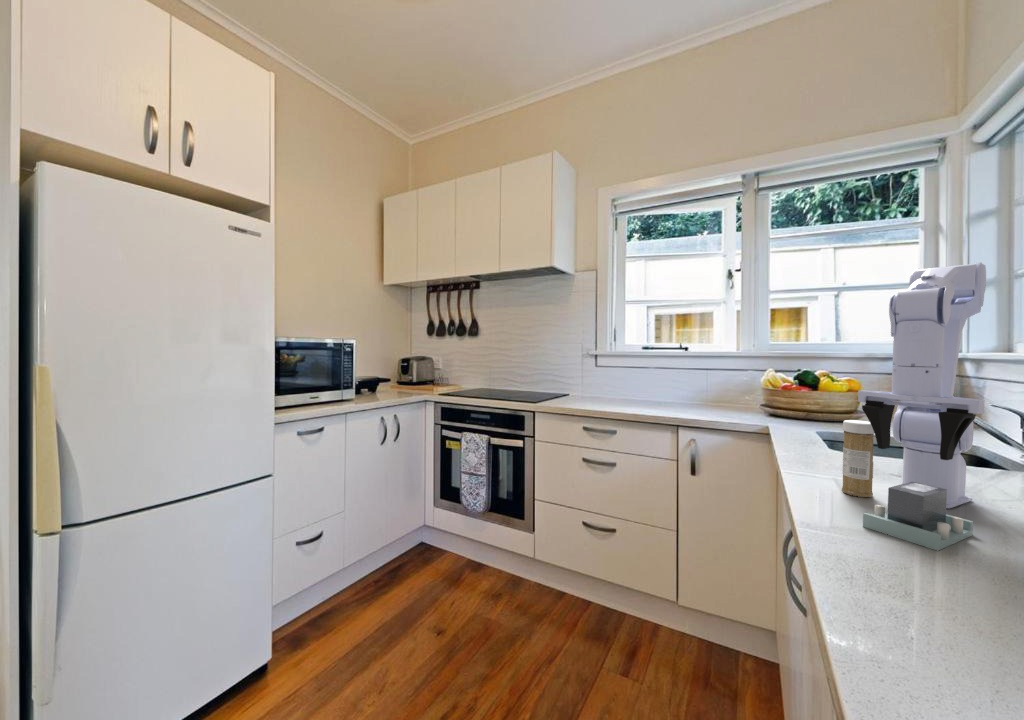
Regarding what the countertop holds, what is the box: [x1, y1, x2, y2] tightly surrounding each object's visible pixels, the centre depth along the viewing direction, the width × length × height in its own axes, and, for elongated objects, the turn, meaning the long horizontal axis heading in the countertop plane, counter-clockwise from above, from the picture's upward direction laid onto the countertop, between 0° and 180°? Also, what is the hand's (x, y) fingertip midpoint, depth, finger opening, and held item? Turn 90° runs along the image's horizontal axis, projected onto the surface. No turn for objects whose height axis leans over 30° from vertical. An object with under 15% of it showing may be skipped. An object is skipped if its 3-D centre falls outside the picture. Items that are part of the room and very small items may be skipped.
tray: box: [862, 504, 974, 552], centre depth 63 cm, size 11×8×3 cm
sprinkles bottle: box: [841, 419, 875, 498], centre depth 79 cm, size 5×5×13 cm
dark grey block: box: [887, 482, 947, 532], centre depth 63 cm, size 7×4×6 cm, turn 116°
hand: (913, 453), depth 67 cm, fingers open, 7 cm apart
